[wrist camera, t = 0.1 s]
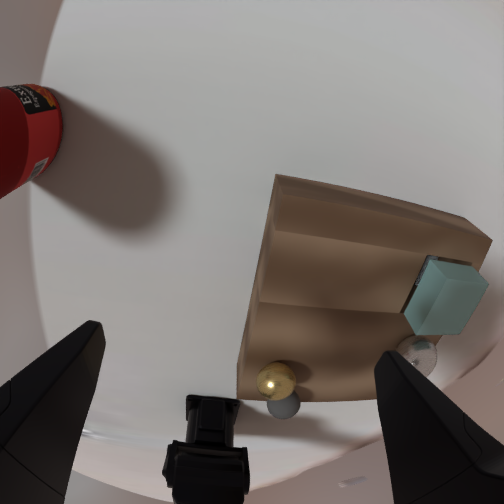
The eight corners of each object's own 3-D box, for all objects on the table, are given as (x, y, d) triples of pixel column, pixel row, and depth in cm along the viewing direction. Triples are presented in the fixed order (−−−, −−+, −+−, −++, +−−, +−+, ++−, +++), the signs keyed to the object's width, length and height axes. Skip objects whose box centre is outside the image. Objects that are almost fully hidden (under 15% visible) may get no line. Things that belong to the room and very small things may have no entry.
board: (386, 369, 32) (397, 397, 28) (236, 364, 30) (236, 399, 27) (464, 217, 23) (492, 240, 19) (275, 174, 21) (283, 193, 17)
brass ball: (288, 378, 25) (292, 408, 22) (252, 376, 25) (253, 406, 22) (297, 355, 24) (303, 386, 21) (258, 352, 23) (260, 384, 20)
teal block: (446, 315, 22) (459, 334, 20) (403, 313, 21) (415, 335, 19) (472, 266, 20) (488, 284, 17) (430, 259, 19) (447, 278, 17)
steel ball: (413, 356, 25) (428, 388, 21) (380, 357, 24) (393, 392, 21) (433, 325, 23) (452, 357, 19) (399, 325, 22) (417, 360, 19)
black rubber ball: (293, 399, 27) (297, 424, 24) (263, 397, 27) (264, 424, 24) (302, 381, 25) (306, 408, 23) (269, 380, 25) (271, 408, 23)
